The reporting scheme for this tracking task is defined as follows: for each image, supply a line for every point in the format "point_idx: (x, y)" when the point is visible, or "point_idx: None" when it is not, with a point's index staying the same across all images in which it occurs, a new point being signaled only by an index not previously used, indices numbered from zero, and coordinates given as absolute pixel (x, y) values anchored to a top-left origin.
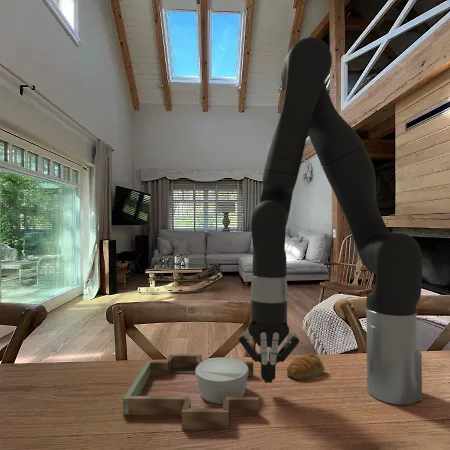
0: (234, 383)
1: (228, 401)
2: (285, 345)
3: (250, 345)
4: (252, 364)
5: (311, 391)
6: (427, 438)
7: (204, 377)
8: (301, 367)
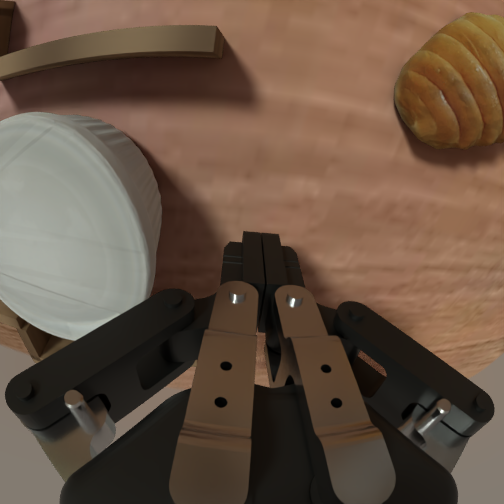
0: None
1: None
2: (397, 389)
3: (123, 400)
4: (208, 52)
5: (420, 226)
6: (467, 372)
7: (11, 305)
8: (466, 130)
